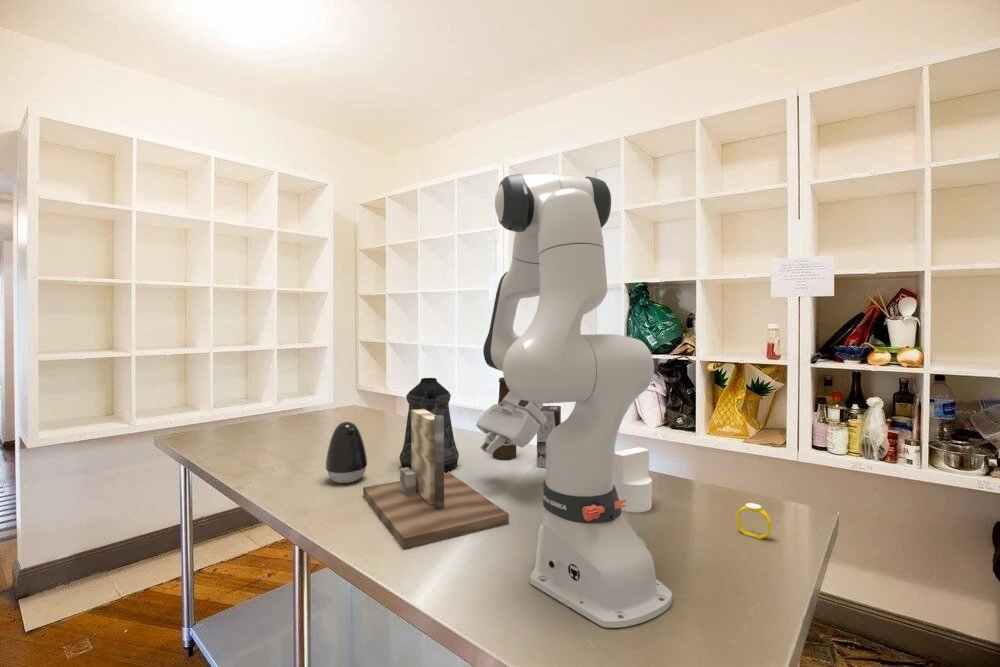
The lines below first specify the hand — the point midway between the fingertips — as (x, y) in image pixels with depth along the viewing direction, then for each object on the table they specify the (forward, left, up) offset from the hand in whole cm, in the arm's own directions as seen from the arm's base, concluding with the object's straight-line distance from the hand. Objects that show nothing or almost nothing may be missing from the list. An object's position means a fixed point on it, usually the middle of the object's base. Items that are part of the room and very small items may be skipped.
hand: (485, 451), depth 112 cm
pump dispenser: (+27, +26, -10) cm, 39 cm away
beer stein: (+26, +3, -10) cm, 28 cm away
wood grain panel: (0, +14, -8) cm, 16 cm away
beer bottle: (+25, -20, -10) cm, 33 cm away
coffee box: (+13, -28, -10) cm, 32 cm away
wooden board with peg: (-1, +14, -10) cm, 18 cm away
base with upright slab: (-21, -26, -11) cm, 35 cm away
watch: (-44, -35, -11) cm, 57 cm away
